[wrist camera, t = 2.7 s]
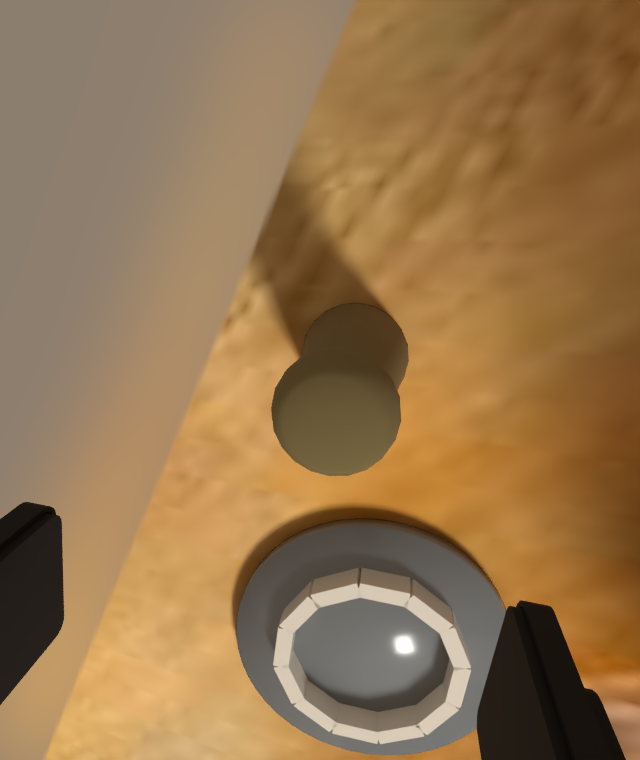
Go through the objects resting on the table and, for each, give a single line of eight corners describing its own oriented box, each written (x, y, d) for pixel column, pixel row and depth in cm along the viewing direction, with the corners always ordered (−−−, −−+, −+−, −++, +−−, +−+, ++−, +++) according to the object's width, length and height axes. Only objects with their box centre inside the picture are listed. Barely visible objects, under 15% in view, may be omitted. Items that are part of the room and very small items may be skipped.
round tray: (543, 551, 32) (554, 577, 30) (477, 767, 37) (482, 804, 35) (253, 494, 34) (242, 515, 31) (230, 709, 39) (219, 740, 37)
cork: (426, 328, 29) (441, 388, 19) (382, 422, 31) (373, 524, 21) (325, 285, 29) (283, 322, 19) (287, 381, 31) (230, 463, 21)
